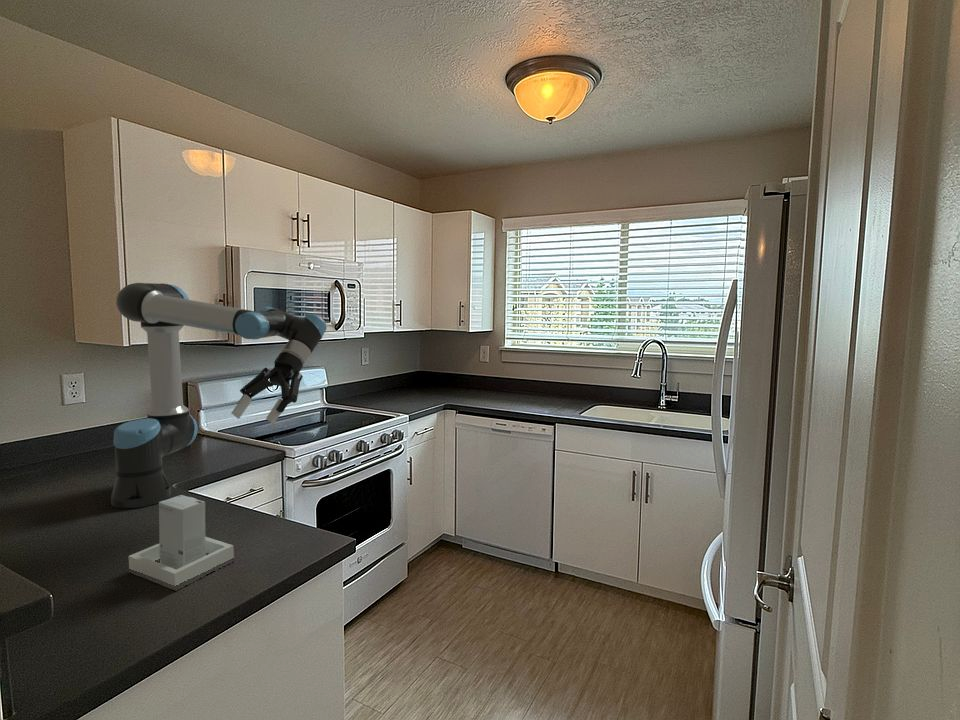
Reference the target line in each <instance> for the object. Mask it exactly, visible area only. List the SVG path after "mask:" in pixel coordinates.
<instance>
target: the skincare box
mask: <svg viewBox="0 0 960 720" xmlns="http://www.w3.org/2000/svg"><path fill="white" fill-rule="evenodd" d="M158 521H159V522H158V523H159V524H158V529H159V530H158V531H159V533H158V536H159V543H158V544H159V545H160V564H163V565H165V566H168V567H171V568H173V569H176V570H177V569H179V568H181V567H183V566H185V565H187V564H189V563H191V562H194V561H196V560H198V559H200V558H202V557H204V556H206V550H205V537H206V502H205V501H204V500H199V499H197V498H195V497H192V496H188V495H187V496H186V495H183V494H180V495H177V496H174V497H171V498H170V497H169V498H167V499H166V500H164V501H161V502H159V503H158Z"/></svg>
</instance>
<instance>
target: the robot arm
mask: <svg viewBox="0 0 960 720" xmlns="http://www.w3.org/2000/svg"><path fill="white" fill-rule="evenodd" d="M116 308H117V310H118V311H119V313H120V314H121V315H122V316H123V317H124V318H126V319H128V320H130V321H133V322H136V323H137V322H138V323H140V328H141V329H143V330H144V331H145V332H146V336H147V349H148V364H149V377H150V380H149V381H150V391H151V392H150V393H151V403H152V407H151V408H150V409H149V410H148V411H147V413H146V415H147V418H139V419H135V420H130V421H126V422H123V423H122V424H120V425H118V426H117V427H116V428H115V429H114V431H113V442H112V443H113V449H114V460H115V461H114V462H115V472H116V473H115V474H116V479H115V482H114V485H113V489H112V491H111V492H112V493H111V495H110V501H111V503H110V504H111V506H112V507H114V508H117V509H137V508H144V507H147V506H152V505H156V504H159V502H161V501H164V500H167V499H170V497H171V495H172V489H171V485H170V484H169V481H168V479H167V477H166V474H165V472H164V470H163V469H164V467H163V458H164V457H166V456H168V455H170V454H172V453H175V452H179V451H181V450H184V449H185V448H187V447H188V446H189V445H191V444H192V443H193V442H194V440H195V439H196V437H197V435H198V430H199V429H198V424H197V420H196V419H194V416H193V415H191V414H190V410H189V408H188V407H187V406H185V405H184V398H183V397H184V395H183V381H182V380H183V378H182V363H181V350H180V349H181V348H180V346H181V345H180V334H179V333H180V331H181V330H182V329H183V327H191V328H197V329H202V330H203V329H204V330H208V331H215V332H218V333H219V332H221V333H226V334H231V335H237V336H240V337H241V338H244V339H245V340H259V339H264V338H271V337H281V338H283V339H285V340H288V341H287V342H286V344H285V345H284V346H283V348H282V349H281V352H280V353H279V354H278V355H277V357H276V358H275V360H274V362H273V363H274V366H273V368H272V369H268V367H264V368H263V369H262V370H261V371H260V373H258V374H257V375H256V376H255V377H254V378H252V380H250V381H249V382H248V383H246V384H245V385H244V386H243V387H242V388H240V390H239V392H240V393H241V398H239V400H238V402H237V404H236V405H235V407H234V408H233V410H232V412H231V414H232V415H233V416H234V417H235V418H236V419H241V418H242V415H243V414H244V413H245V411H246V409H247V408H248V407H249V405H250V404H251V402H252V401H253V399H252V398H253V397H255V396H256V395H259V394H260V393H262V392H263V391H264V390H266V389H267V388H271V387H273V386H279V387H280V391H281V396H280V398H278V400H277V401H276V402H275V404H274V405H273V407H272V409H271V410H270V412H269V413H268V415H267V416H266V418H265V419H266V420H268V422H269V423H271V424H272V425H274V424H275V423H276V422H277V421H278V419H279V417H280V416H281V414H282V413H283V412H284V411H285V410H286V408H287V407H288V405H289V404H291V403H293V404H295V403H297V402H298V397H299V390H300V385H301V384H300V383H301V381H302V379H303V374H301V371H302V369H303V367H304V365H305V364H306V362H308V359H309V358H310V357H311V355H312V353H313V352H314V350H315V349H316V348H317V346H318V344H319V343H320V342H321V340H322V338H323V336H324V335H325V333H326V331H327V328H328V326H327V323H326V322H325V320H324V319H323V318H321V316H319V315H317V314H314V313H313V314H311V313H308V314H306V315H305V316H304V317H303V318H301V317H298V316H295V315H292V314H290V313H288V312H285V311H283V310H280V309H279V308H274V307H271V306H264V307H263V308H262V309H260V310H259V311H256V310H251V309H249V310H248V309H244V308H237V307H233V306H225V305H221V304H214V303H210V302H203V301H198V300H197V301H196V300H193V299H192V300H191V299H189V297H188V294H187V293H186V292H185V291H184V290H183V289H182V288H180V287H179V286H177V285H174V284H168V283H149V282H146V283H145V282H135V283H134V282H133V283H130V284H128V285H125V286H124V287H122V288H121V289H120V291H118V293H117V296H116Z"/></svg>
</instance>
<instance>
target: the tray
mask: <svg viewBox="0 0 960 720" xmlns="http://www.w3.org/2000/svg"><path fill="white" fill-rule="evenodd" d="M205 550H206V553H209V554H208V555H206V556H204V557H202V558H200V559H198V560H196V561H194V562H191V563H189V564H187V565H185V566H183V567H181V568H179V569H177V570H176V569H173V568H171V567H168V566H165V565H163V564H160V563H157V562H155V560H158V559H160V545H159V543H156V544H154V545H152V546H149V547H147V548H145V549H142V550H139V551H137V552H136V553H132V554H130V555H128V570H129V569H131V570H134V571H137V572H140V573H143V574H145V575H148V576H151V577H153V578H156V579H159V580H161V581H163V582H166V583H168V584H171V585H174V586H176V585H179V584H180V583H182V582H184V581H187V580H188V579H191V578H193V577H195V576H197V575H200V574H201V573H203V572H206V571H208V570H210V569H212V568H213V567H216V566H217V565H219V564H222V563H224V562H226V561H228V560H230V559H232V558H234V559H235V550H234V545H233V544H231V543H230V544H229V543H227V542H224V541H221V540H217V539H214V538H211V537H209V536H205Z"/></svg>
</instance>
